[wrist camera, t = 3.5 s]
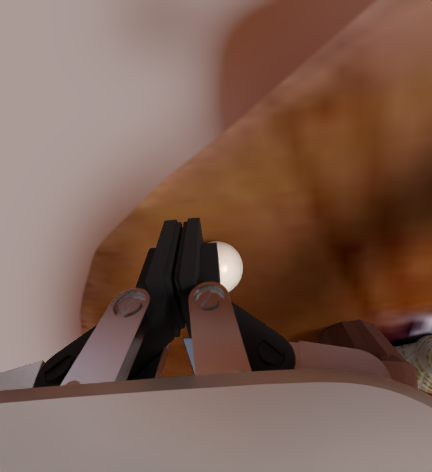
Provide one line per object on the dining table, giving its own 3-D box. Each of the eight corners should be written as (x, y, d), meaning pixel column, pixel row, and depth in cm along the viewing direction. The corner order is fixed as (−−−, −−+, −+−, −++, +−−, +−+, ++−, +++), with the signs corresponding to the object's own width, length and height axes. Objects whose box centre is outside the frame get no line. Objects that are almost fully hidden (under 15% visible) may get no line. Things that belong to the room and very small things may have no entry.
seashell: (379, 369, 41) (420, 421, 32) (375, 322, 40) (416, 361, 30) (440, 366, 40) (503, 420, 30) (438, 317, 38) (502, 357, 29)
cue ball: (188, 232, 24) (182, 268, 19) (239, 229, 23) (245, 264, 19) (195, 269, 27) (191, 308, 22) (240, 266, 27) (246, 304, 22)
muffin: (301, 350, 39) (324, 422, 30) (326, 312, 32) (364, 390, 24) (363, 354, 39) (403, 425, 31) (400, 318, 33) (461, 395, 25)
